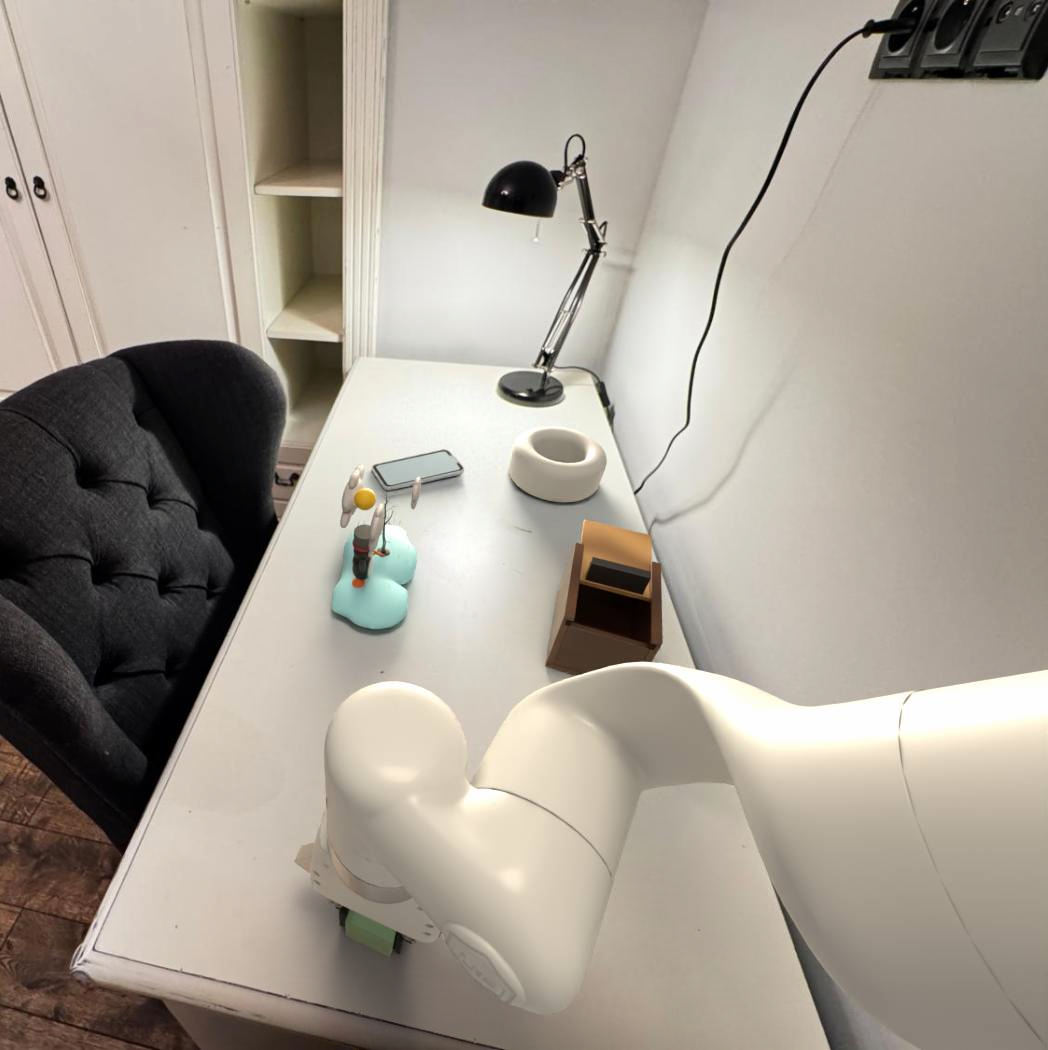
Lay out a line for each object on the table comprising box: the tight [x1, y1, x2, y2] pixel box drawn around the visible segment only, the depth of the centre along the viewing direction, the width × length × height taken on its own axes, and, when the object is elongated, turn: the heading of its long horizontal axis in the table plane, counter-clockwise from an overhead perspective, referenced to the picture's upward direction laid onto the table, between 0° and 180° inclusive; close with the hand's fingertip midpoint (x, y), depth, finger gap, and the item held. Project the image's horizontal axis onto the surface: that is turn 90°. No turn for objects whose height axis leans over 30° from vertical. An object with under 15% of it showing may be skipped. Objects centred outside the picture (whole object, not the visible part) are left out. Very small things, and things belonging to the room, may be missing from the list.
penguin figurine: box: [330, 463, 422, 630], centre depth 75 cm, size 20×11×15 cm, turn 167°
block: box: [344, 909, 396, 958], centre depth 47 cm, size 4×4×4 cm
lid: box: [579, 519, 653, 602], centre depth 70 cm, size 12×8×3 cm
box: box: [544, 541, 664, 676], centre depth 69 cm, size 13×10×9 cm
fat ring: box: [508, 425, 608, 503], centre depth 96 cm, size 15×15×7 cm
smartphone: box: [371, 448, 465, 491], centre depth 99 cm, size 7×1×15 cm
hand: (375, 919), depth 48 cm, fingers closed on block, 4 cm apart
